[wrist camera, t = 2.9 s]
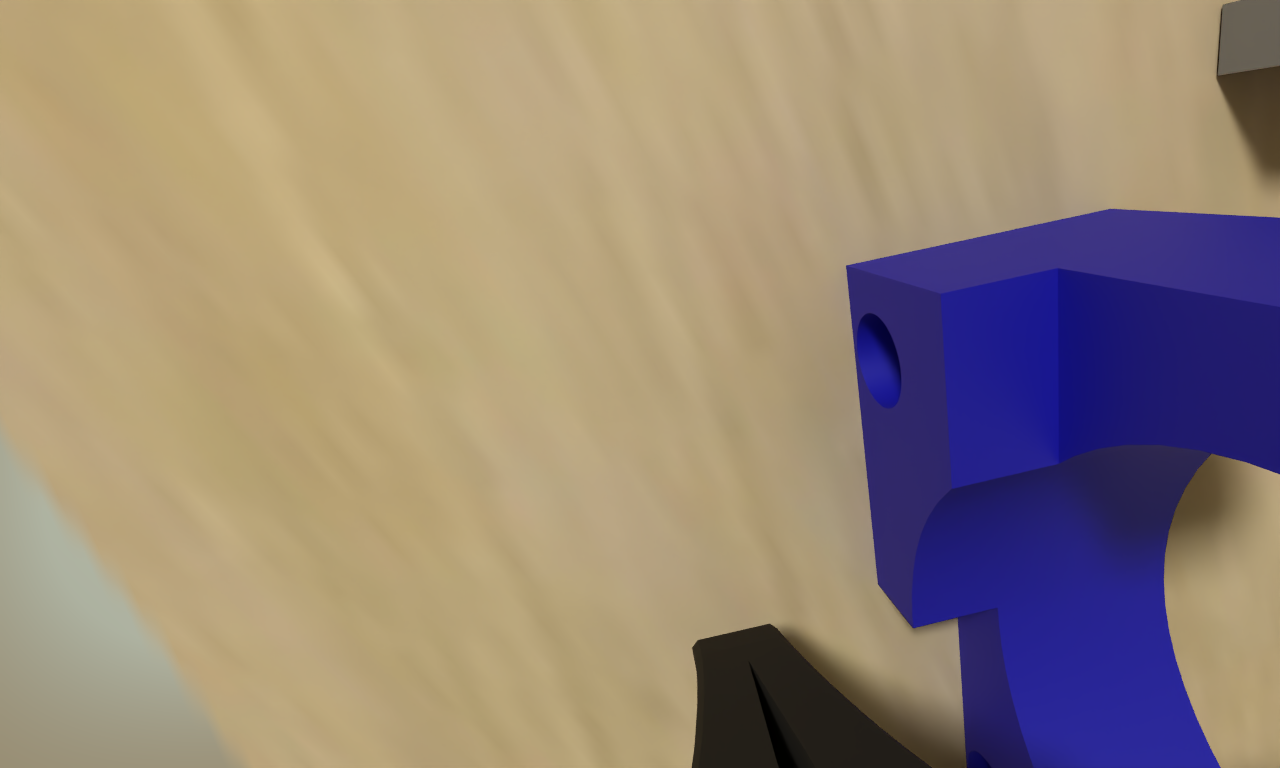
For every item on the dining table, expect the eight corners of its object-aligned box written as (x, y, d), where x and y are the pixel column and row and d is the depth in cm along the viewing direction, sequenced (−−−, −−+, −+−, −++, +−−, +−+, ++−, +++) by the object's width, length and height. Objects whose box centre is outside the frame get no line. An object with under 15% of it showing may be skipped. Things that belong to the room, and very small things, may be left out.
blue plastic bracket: (841, 264, 11) (1143, 354, 5) (1102, 208, 11) (1657, 237, 6) (897, 815, 15) (1115, 1219, 9) (1094, 764, 15) (1426, 1125, 9)
